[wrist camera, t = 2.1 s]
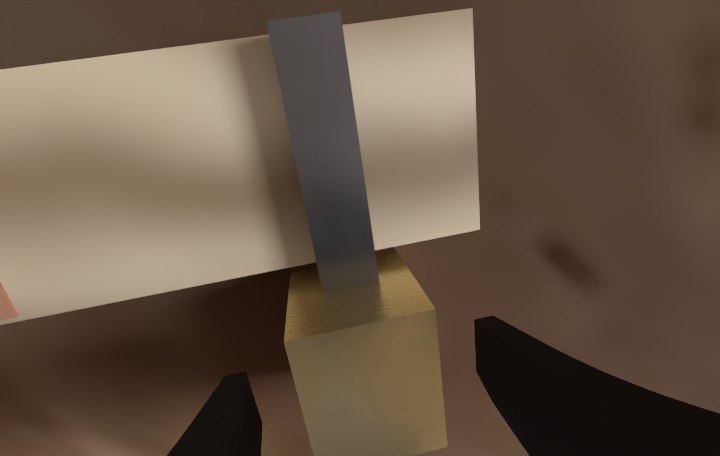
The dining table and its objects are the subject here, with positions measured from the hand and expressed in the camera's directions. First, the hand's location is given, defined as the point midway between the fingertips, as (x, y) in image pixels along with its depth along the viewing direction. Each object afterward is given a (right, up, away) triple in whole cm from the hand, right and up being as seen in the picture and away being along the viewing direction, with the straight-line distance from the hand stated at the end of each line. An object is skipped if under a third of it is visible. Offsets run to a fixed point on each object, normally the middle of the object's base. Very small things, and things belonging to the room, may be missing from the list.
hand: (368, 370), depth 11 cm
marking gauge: (-1, +5, +2) cm, 5 cm away
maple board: (-10, +6, +1) cm, 12 cm away
